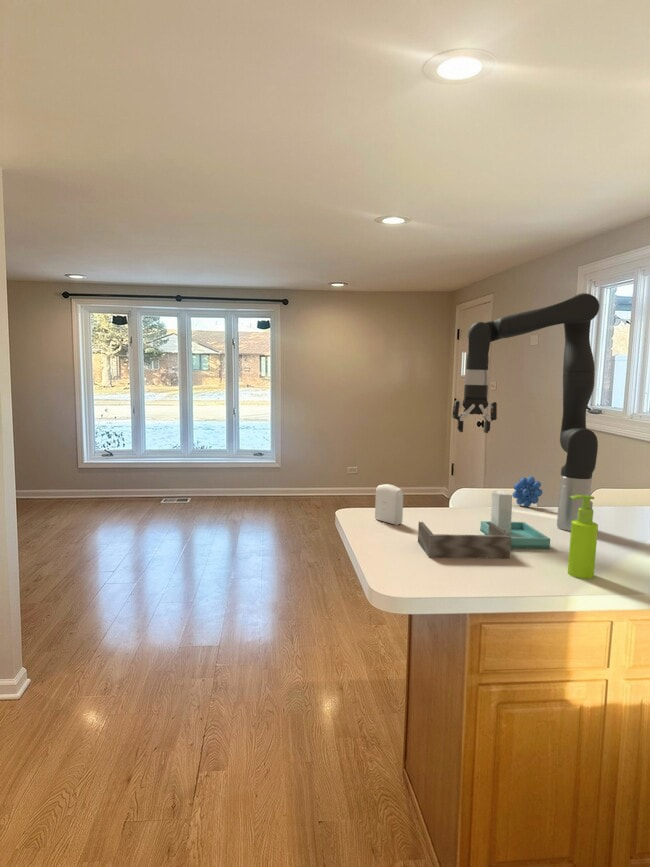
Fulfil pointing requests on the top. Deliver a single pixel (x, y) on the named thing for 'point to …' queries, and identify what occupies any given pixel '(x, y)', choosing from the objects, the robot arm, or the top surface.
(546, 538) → the tray
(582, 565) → the soap dispenser
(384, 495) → the photo printer
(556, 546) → the top surface
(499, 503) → the skincare box
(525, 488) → the blue knobbly flower shape
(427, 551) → the bay
